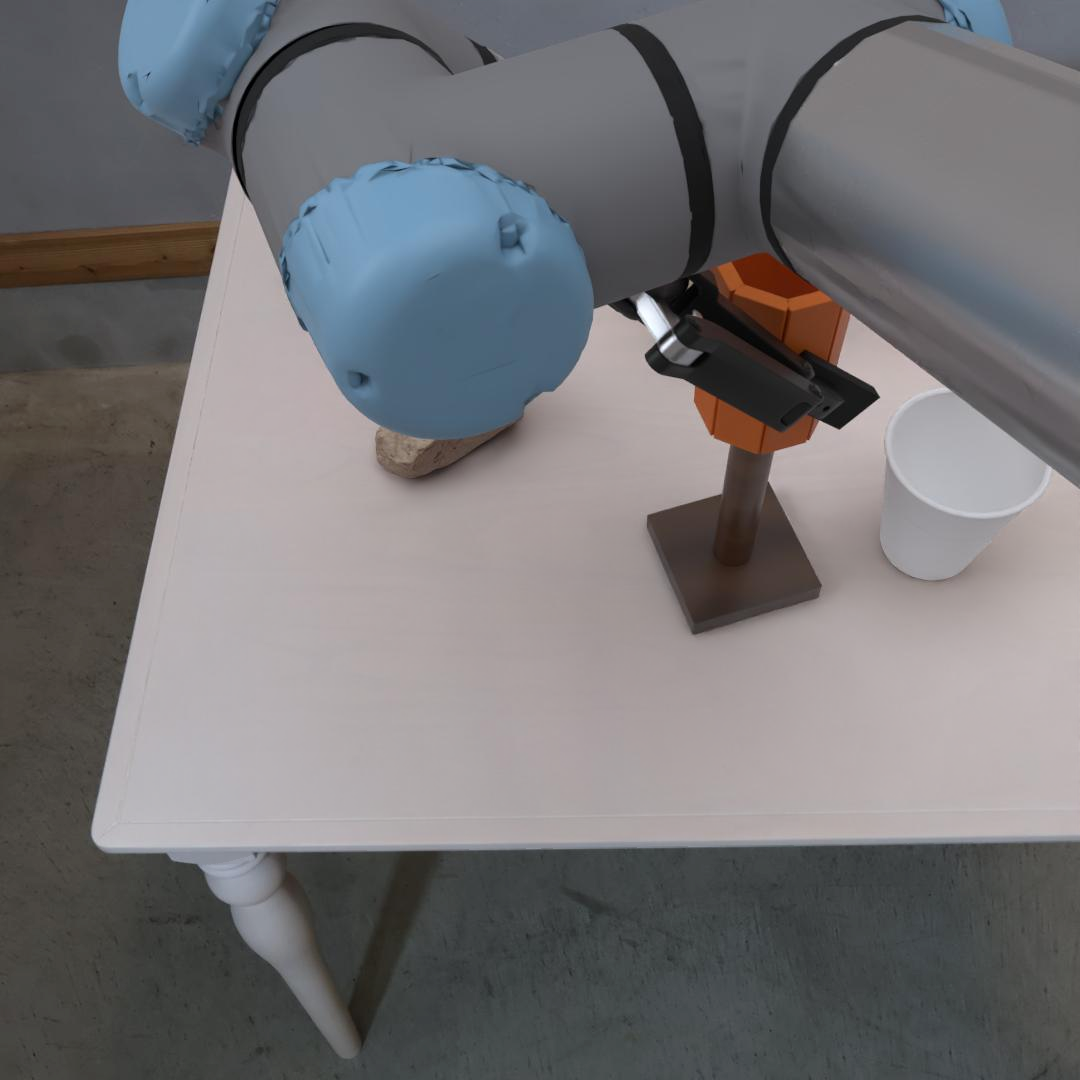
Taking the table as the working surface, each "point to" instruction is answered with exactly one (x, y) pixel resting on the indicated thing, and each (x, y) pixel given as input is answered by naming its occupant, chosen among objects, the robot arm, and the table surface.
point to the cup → (950, 484)
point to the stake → (733, 549)
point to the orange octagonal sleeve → (789, 317)
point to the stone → (423, 451)
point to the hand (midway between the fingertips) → (825, 356)
